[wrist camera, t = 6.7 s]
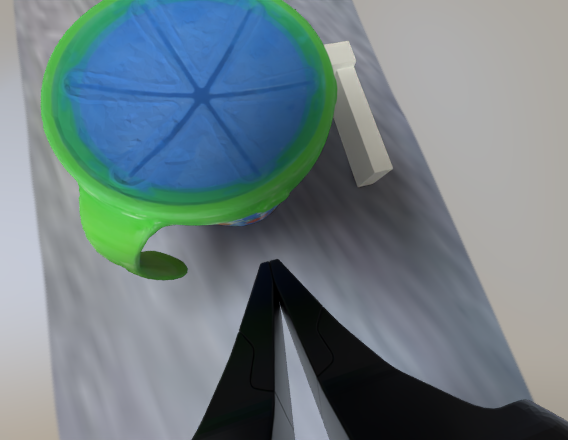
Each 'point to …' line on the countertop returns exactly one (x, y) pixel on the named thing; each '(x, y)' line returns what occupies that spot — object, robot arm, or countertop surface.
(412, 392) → the robot arm
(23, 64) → the countertop surface
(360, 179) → the centring cradle
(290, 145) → the snack cup
